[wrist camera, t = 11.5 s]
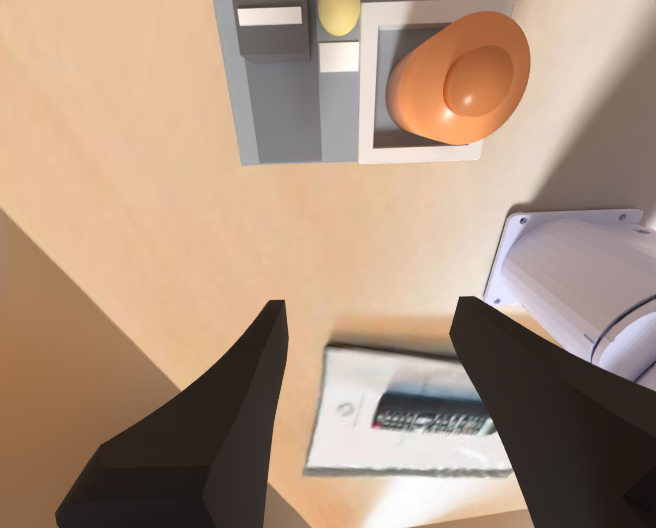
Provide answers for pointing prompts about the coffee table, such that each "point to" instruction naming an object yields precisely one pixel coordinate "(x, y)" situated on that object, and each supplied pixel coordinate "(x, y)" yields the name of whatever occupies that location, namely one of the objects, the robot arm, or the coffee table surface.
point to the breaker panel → (339, 84)
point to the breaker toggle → (272, 30)
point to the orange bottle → (461, 80)
